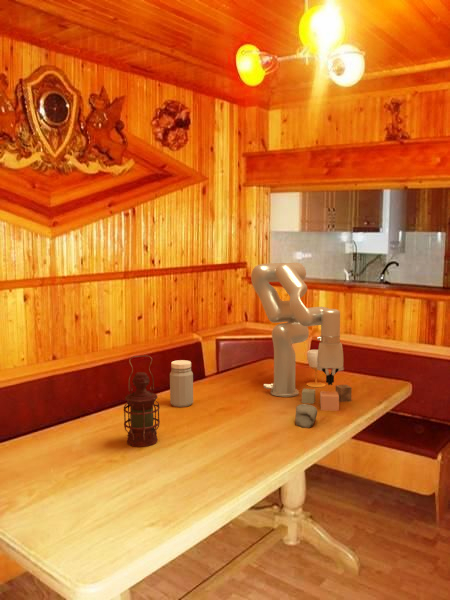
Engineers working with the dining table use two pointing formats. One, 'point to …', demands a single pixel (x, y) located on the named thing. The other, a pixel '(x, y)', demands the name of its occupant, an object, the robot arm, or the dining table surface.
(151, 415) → the lantern
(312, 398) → the greygreen block
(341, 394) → the walnut block
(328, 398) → the terracotta block
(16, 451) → the dining table surface
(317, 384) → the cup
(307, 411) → the stone
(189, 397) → the jar
